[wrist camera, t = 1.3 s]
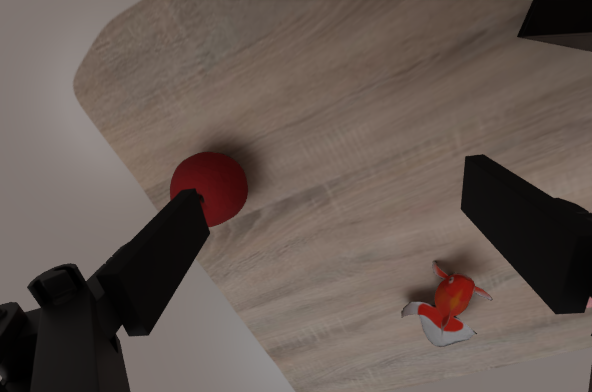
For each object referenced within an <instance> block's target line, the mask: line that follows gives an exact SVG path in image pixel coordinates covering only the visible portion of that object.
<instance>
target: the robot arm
mask: <svg viewBox="0 0 592 392" xmlns="http://www.w3.org/2000/svg"><path fill="white" fill-rule="evenodd" d="M461 210H462V211H463V212H464V213H465V214H466V216H467V217H468V218H469V219H470V220H471V221H472V222H473V223H474V224H475V226H476V227H477V228H478V229H479V230H480V231H481V232H482V233H483V234H484V235H485V237H486V238H487V239H488V240H489V241H490V242H491V243H492V244H493V245H494V247H495V248H496V249H497V250H498V251H499V252H500V253H501V254H502V255H503V257H504V258H505V259H506V260H507V261H508V262H509V263H510V264H511V265H512V266H513V268H514V269H515V270H516V271H517V272H518V273H519V274H520V275H521V276H522V278H523V279H524V280H525V281H526V282H527V283H528V284H529V285H530V286H531V287H532V289H533V290H534V291H535V292H536V293H537V294H538V295H539V296H540V297H541V299H542V300H543V301H544V302H545V303H546V304H547V305H548V306H549V307H550V309H551V310H552V311H553V312H554V313H555V314H571V313H584V312H585V309H586V306H587V303H588V300H589V298H590V297H591V298H592V213H589V212H588V211H587V210H585V209H584V208H582V207H580V206H579V205H577V204H575V203H572V202H569V201H566V200H563V199H560V198H553V197H551V196H550V195H548V194H546V193H545V192H543V191H541V190H540V189H538V188H537V187H535V186H533V185H532V184H530V183H529V182H527V181H525V180H524V179H522V178H521V177H519V176H517V175H516V174H514V173H512V172H511V171H509V170H508V169H506V168H504V167H503V166H501V165H500V164H498V163H496V162H495V161H493V160H492V159H490V158H488V157H487V156H485V155H483V154H482V155H474V156H465V167H464V178H463V189H462V201H461ZM209 235H210V231H209V228H208V225H207V222H206V219H205V216H204V213H203V209H202V206H201V203H200V200H199V197H198V194H197V191H196V188H193V189H185V190H181V191H180V192H179V193H178V194H177V195H176V196H175V197H174V198H173V199H172V200H171V201H170V202H169V203H168V204H167V205H166V206H165V207H164V208H163V209H162V210H161V211H160V212H159V213H158V214H157V215H156V216H155V217H154V218H153V219H152V220H151V221H150V222H149V223H148V224H147V225H146V226H145V227H144V228H143V229H142V230H141V231H140V232H139V233H138V234H137V235H136V236H135V237H134V238H133V239H132V240H131V241H130V242H128V243H127V244H125V245H124V246H122V247H120V249H118V251H116V252H115V253H114V254H113V255H112V256H113V257H110V258H109V259H108V260H107V261H106V264H103V265H102V266H101V267H100V268H99V269H98V270H97V271H96V272H95V273H94V274H93V275H92V276H91V277H90V278H89V279H88V280H87V281H85V279H84V278H83V276H82V274H81V272H80V271H79V269H78V267H77V266H76V264H71V263H70V264H63V265H60V266H57V267H54V268H52V269H50V270H48V271H46V272H44V273H42V274H41V275H39V276H37V277H36V278H35V279H34V280H33V281H31V282H30V284H29V285H28V287H27V288H28V289H29V291H30V292H31V293H32V295H33V297H34V298H35V299H36V301H37V302H38V304H39V305H40V307H41V308H39V309H35V310H32V311H28V312H24V311H23V310H22V309H21V307H20V306H19V305H18V303H16V302H10V303H5V304H2V305H0V375H1V376H2V380H1V382H0V392H130V388H129V383H128V378H127V373H126V368H125V364H124V359H123V354H122V349H121V344H120V340H119V339H118V337H117V335H116V332H117V331H118V330H119V328H120V326H121V325H123V326H124V328H125V330H126V332H127V334H128V335H129V336H145V335H146V336H147V335H149V334H150V332H151V331H152V329H153V327H154V326H155V324H156V322H157V321H158V319H159V317H160V316H161V314H162V312H163V311H164V309H165V308H166V306H167V304H168V303H169V301H170V299H171V298H172V296H173V294H174V293H175V291H176V289H177V288H178V286H179V284H180V283H181V281H182V279H183V278H184V276H185V274H186V273H187V271H188V269H189V268H190V266H191V264H192V263H193V261H194V259H195V258H196V256H197V254H198V253H199V251H200V249H201V248H202V246H203V244H204V243H205V241H206V240H207V238H208V236H209ZM591 336H592V334H591ZM588 392H592V367H591V375H590V383H589V391H588Z"/></svg>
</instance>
